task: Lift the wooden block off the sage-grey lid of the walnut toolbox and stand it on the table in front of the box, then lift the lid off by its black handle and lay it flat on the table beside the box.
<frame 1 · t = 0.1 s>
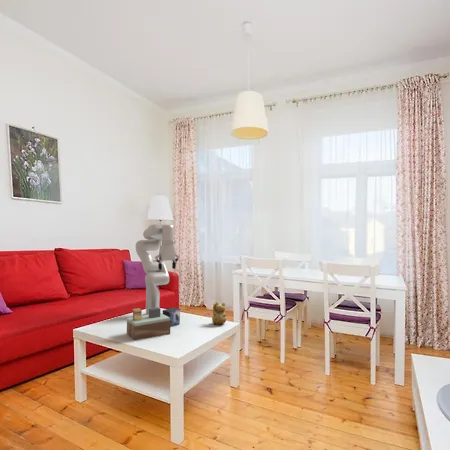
hand: (167, 269, 214), 37 cm above the table, tool pointing down, fingers open, 9 cm apart
toolbox: (148, 333, 194), on the table
toolbox lid: (148, 320, 195), point 8 cm above the table, touching toolbox, wooden block
small box: (171, 325, 212), on the table
wooden block: (137, 319, 190), point 10 cm above the table, touching toolbox lid
decorative figurine: (219, 324, 216), on the table
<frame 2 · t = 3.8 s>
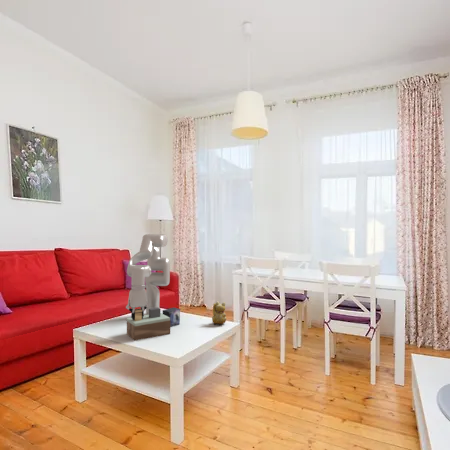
hand: (137, 318, 190), 10 cm above the table, tool pointing down, fingers closed on wooden block, 4 cm apart
wooden block: (137, 319, 190), point 10 cm above the table, touching gripper, toolbox lid
everything else where it was.
when the fingers open (2 cm above the table, at t = 10.9 s): wooden block drops 1 cm, on the table.
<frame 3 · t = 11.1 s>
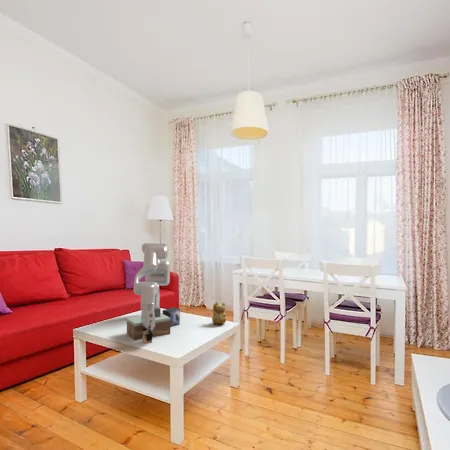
hand: (147, 338, 180), 2 cm above the table, tool pointing down, fingers open, 6 cm apart
toolbox lid: (148, 320, 195), point 8 cm above the table, touching toolbox
wooden block: (147, 342, 180), on the table
everything else where it was.
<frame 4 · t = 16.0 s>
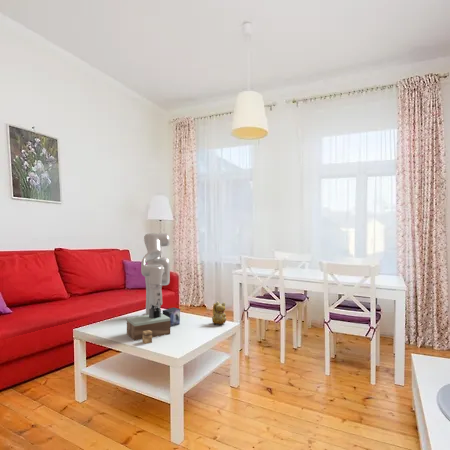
hand: (155, 316, 197), 10 cm above the table, tool pointing down, fingers open, 3 cm apart
nothing on the table moved.
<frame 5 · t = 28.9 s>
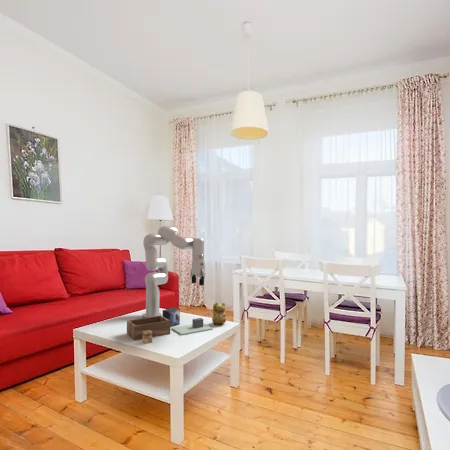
hand: (197, 284, 207), 28 cm above the table, tool pointing down, fingers open, 9 cm apart
toolbox lid: (192, 330, 204), on the table
everything else where it was.
at the end: wooden block inside the target area (0.2 cm from its centre), on the table; toolbox lid inside the target area (0.6 cm from its centre), on the table; toolbox lid tilted 0° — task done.
